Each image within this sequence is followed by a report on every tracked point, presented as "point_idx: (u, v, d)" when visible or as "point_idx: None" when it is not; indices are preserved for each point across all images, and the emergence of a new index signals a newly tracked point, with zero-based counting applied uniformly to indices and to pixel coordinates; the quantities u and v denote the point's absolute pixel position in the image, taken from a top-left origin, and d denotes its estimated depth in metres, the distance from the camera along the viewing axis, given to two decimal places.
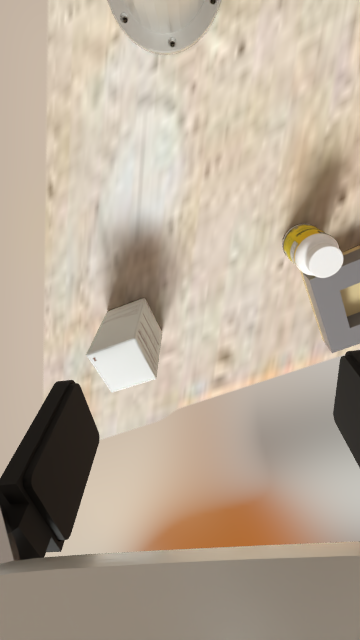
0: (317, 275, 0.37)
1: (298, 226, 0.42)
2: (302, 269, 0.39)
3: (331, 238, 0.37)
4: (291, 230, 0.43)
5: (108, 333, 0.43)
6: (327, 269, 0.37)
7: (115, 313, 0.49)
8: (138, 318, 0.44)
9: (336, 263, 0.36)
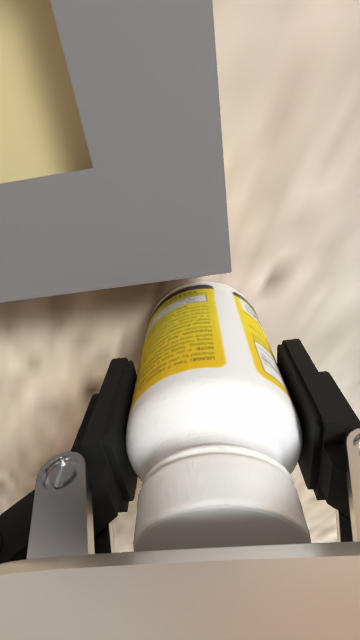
0: (283, 522, 0.06)
1: None
2: (294, 434, 0.08)
3: None
4: None
5: None
6: (221, 532, 0.06)
7: None
8: None
9: (170, 542, 0.07)
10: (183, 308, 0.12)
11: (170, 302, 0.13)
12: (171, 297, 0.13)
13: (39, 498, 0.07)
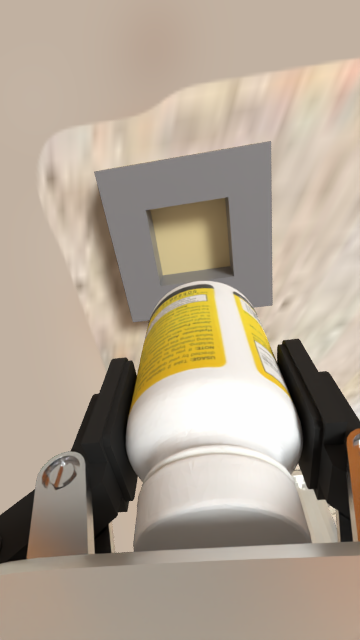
0: (284, 523, 0.06)
1: None
2: (295, 434, 0.08)
3: None
4: None
5: None
6: (222, 533, 0.06)
7: None
8: None
9: (170, 543, 0.07)
10: (183, 307, 0.12)
11: (170, 301, 0.13)
12: (171, 297, 0.13)
13: (39, 498, 0.07)
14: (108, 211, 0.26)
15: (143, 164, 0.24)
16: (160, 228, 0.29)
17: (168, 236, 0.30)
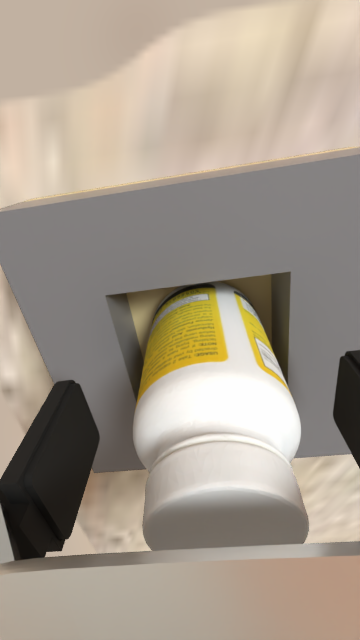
0: (283, 504, 0.07)
1: None
2: (293, 425, 0.09)
3: None
4: None
5: None
6: (226, 514, 0.07)
7: None
8: None
9: (177, 524, 0.07)
10: (186, 306, 0.12)
11: (174, 300, 0.13)
12: (174, 296, 0.14)
13: None
14: (24, 297, 0.12)
15: (93, 199, 0.10)
16: (142, 309, 0.15)
17: None
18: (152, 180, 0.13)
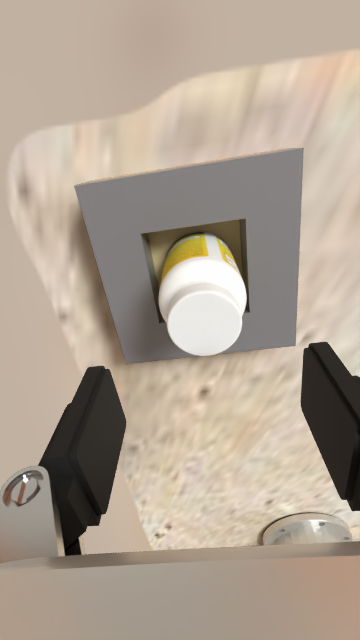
0: (228, 302, 0.15)
1: None
2: (240, 288, 0.17)
3: None
4: None
5: None
6: (204, 309, 0.16)
7: None
8: None
9: (183, 317, 0.16)
10: (187, 241, 0.21)
11: (179, 241, 0.22)
12: (179, 239, 0.22)
13: None
14: (93, 235, 0.21)
15: (137, 176, 0.19)
16: (159, 252, 0.24)
17: None
18: (167, 168, 0.21)
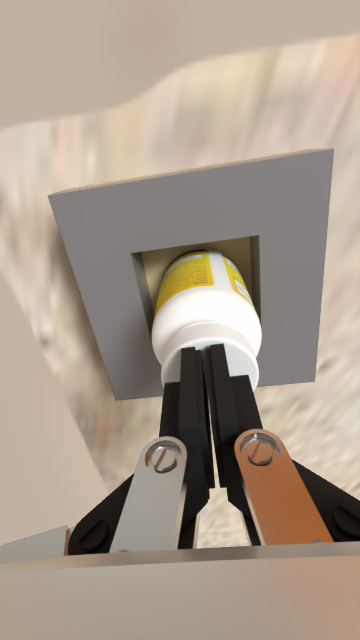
0: (241, 352, 0.12)
1: None
2: (255, 326, 0.14)
3: None
4: None
5: None
6: None
7: None
8: None
9: None
10: (187, 261, 0.17)
11: (178, 260, 0.18)
12: (178, 258, 0.19)
13: (149, 481, 0.07)
14: (73, 254, 0.17)
15: (125, 184, 0.15)
16: (154, 271, 0.20)
17: None
18: (163, 173, 0.18)
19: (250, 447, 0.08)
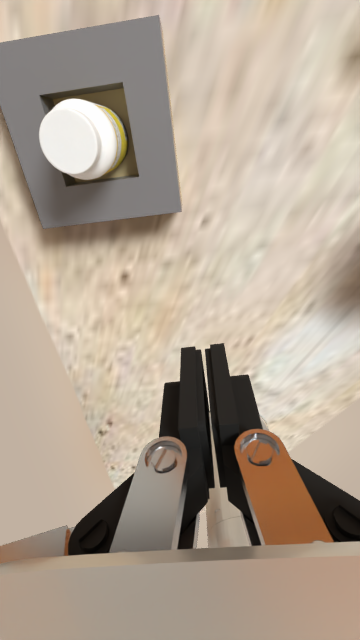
0: (82, 119, 0.20)
1: None
2: (105, 125, 0.22)
3: None
4: None
5: None
6: (65, 126, 0.20)
7: None
8: None
9: (50, 133, 0.21)
10: None
11: None
12: None
13: (149, 481, 0.07)
14: (0, 95, 0.25)
15: (30, 39, 0.23)
16: None
17: None
18: None
19: (250, 447, 0.08)
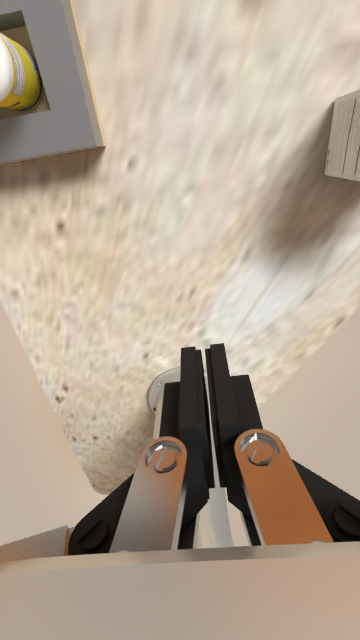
0: None
1: (21, 110, 0.30)
2: None
3: None
4: (31, 106, 0.30)
5: None
6: None
7: None
8: None
9: None
10: None
11: None
12: None
13: (149, 481, 0.07)
14: None
15: None
16: None
17: None
18: None
19: (250, 447, 0.08)
